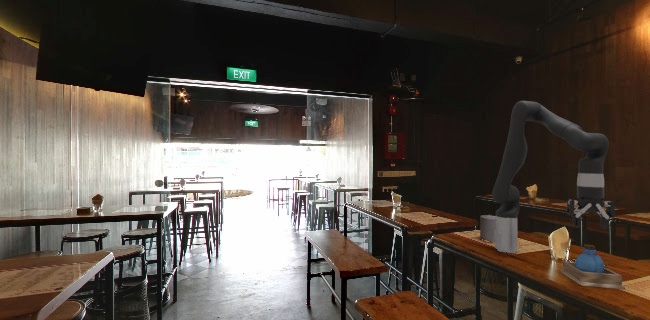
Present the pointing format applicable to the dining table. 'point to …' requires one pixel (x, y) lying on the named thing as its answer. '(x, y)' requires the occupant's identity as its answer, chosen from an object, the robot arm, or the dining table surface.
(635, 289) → the dining table surface
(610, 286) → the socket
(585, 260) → the perfume bottle
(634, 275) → the dining table surface
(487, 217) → the pillar candle
